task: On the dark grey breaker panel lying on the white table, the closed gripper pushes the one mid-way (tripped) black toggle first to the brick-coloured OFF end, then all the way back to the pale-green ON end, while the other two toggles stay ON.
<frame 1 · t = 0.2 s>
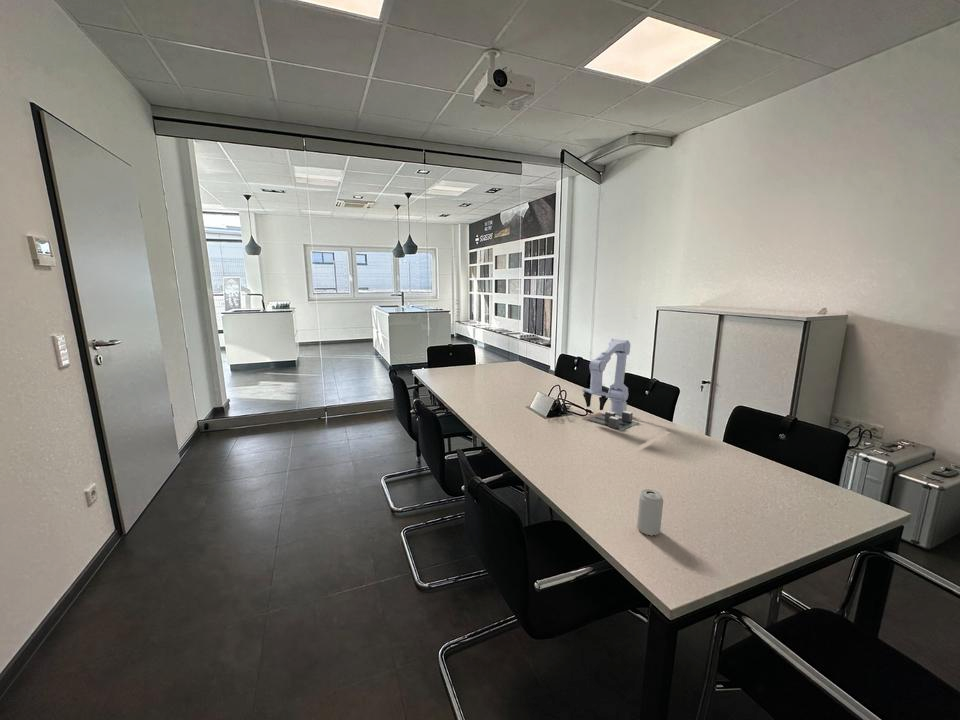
hand: (594, 408, 206), 10 cm above the table, fingers open, 7 cm apart
breaker 1: (627, 416, 211), point 4 cm above the table, slide at 6.0 cm
beverage can: (648, 531, 118), on the table
panel: (610, 423, 212), on the table
tripped breaker: (610, 416, 211), point 4 cm above the table, slide at 0.0 cm
breaker 3: (613, 422, 202), point 4 cm above the table, slide at 6.0 cm
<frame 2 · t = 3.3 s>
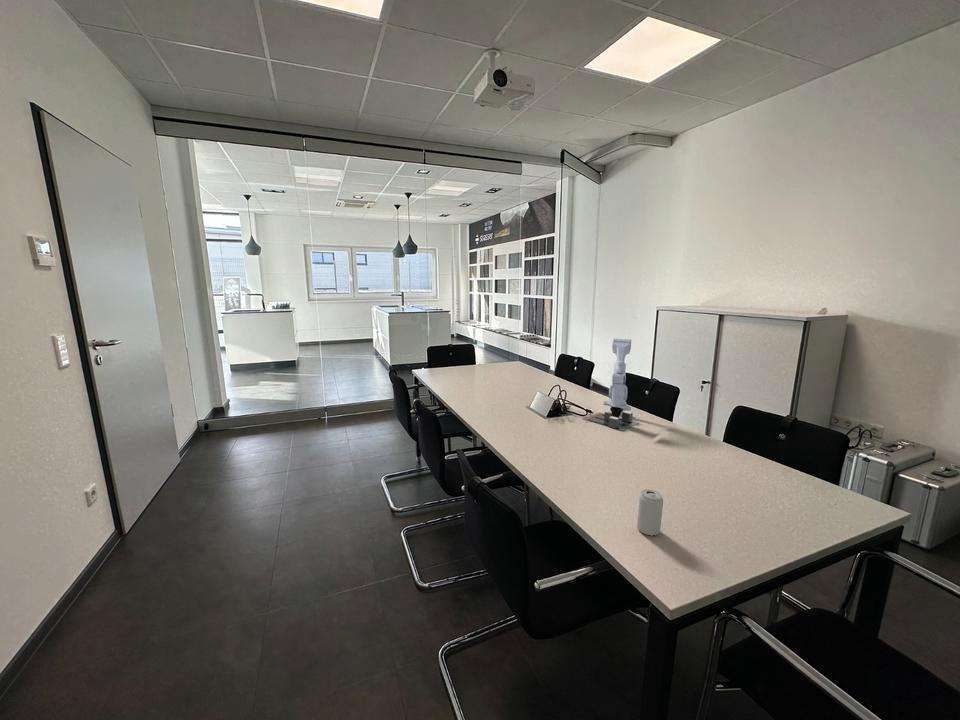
hand: (615, 420, 209), 3 cm above the table, fingers closed
tripped breaker: (609, 416, 211), point 4 cm above the table, slide at -0.5 cm, touching gripper
everything else where it was.
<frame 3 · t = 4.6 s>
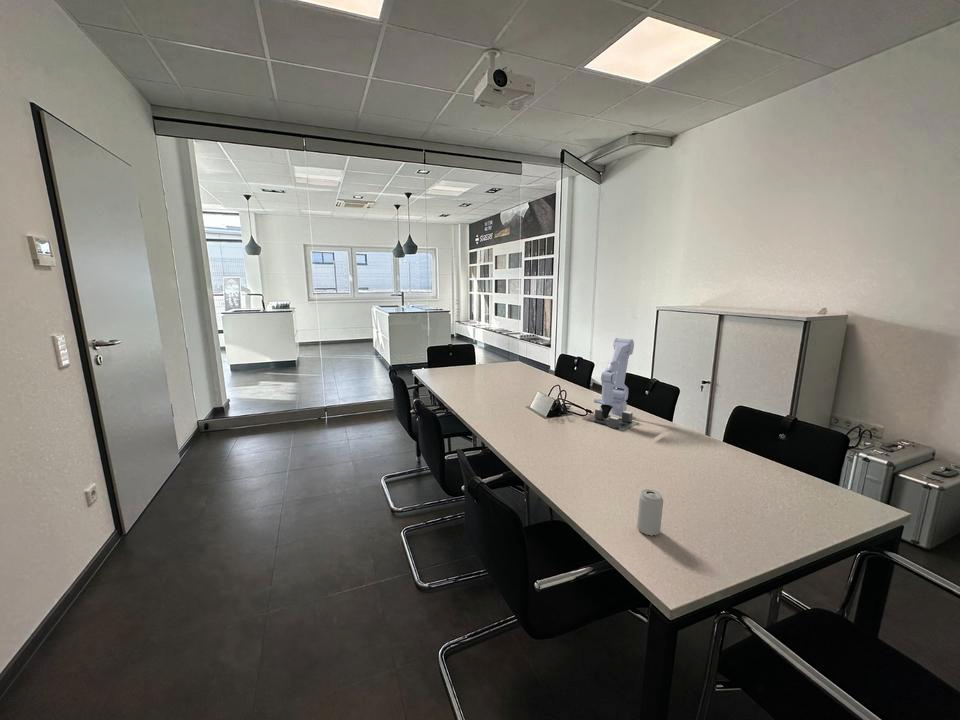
hand: (605, 418, 213), 3 cm above the table, fingers closed
tripped breaker: (599, 413, 215), point 4 cm above the table, slide at -6.1 cm, touching gripper
everything else where it was.
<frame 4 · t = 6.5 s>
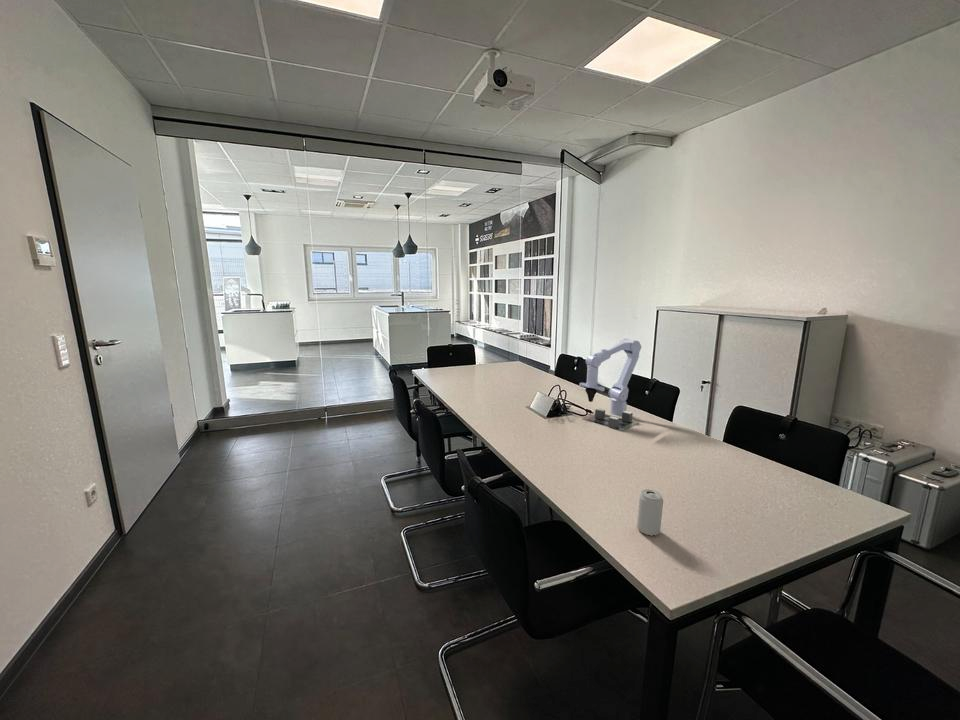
hand: (590, 401, 218), 10 cm above the table, fingers closed
tripped breaker: (600, 413, 215), point 4 cm above the table, slide at -6.1 cm
everything else where it was.
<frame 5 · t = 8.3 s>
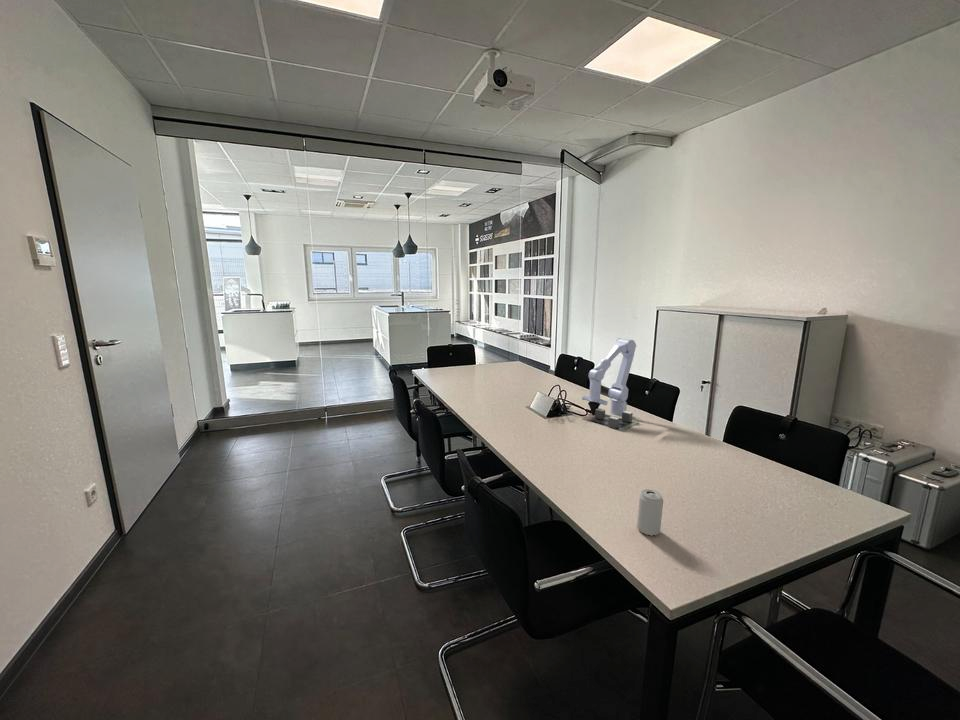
hand: (593, 414, 218), 3 cm above the table, fingers closed
tripped breaker: (600, 413, 215), point 4 cm above the table, slide at -6.0 cm, touching gripper
everything else where it was.
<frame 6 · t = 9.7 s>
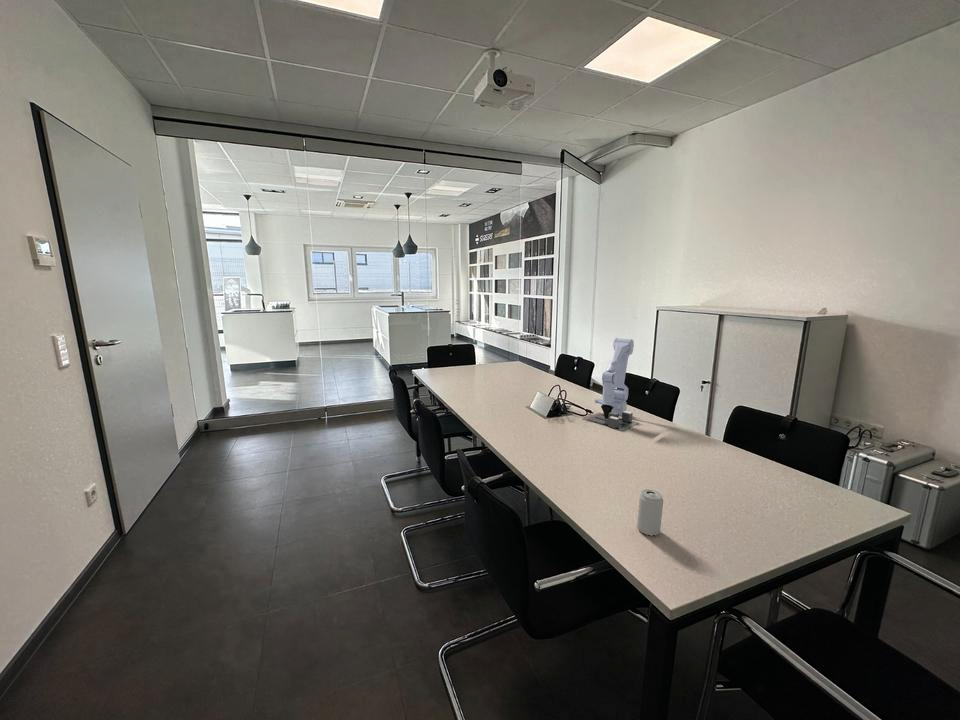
hand: (606, 418, 212), 3 cm above the table, fingers closed
tripped breaker: (613, 417, 209), point 4 cm above the table, slide at 1.9 cm, touching gripper
everything else where it was.
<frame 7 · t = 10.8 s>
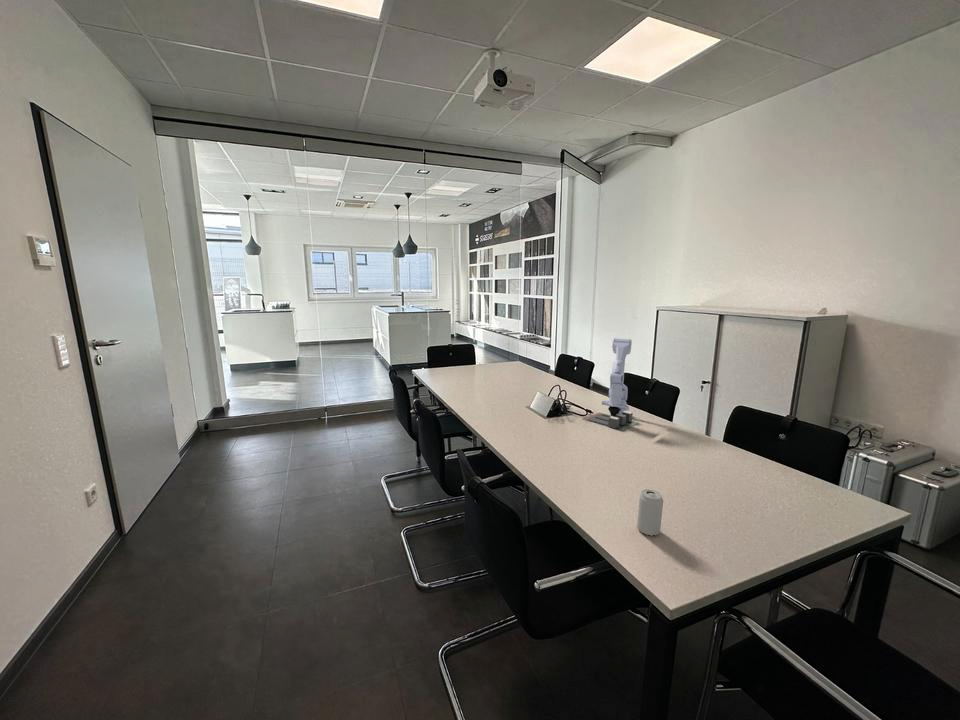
hand: (613, 420, 209), 3 cm above the table, fingers closed
tripped breaker: (620, 419, 206), point 4 cm above the table, slide at 6.0 cm, touching gripper
everything else where it was.
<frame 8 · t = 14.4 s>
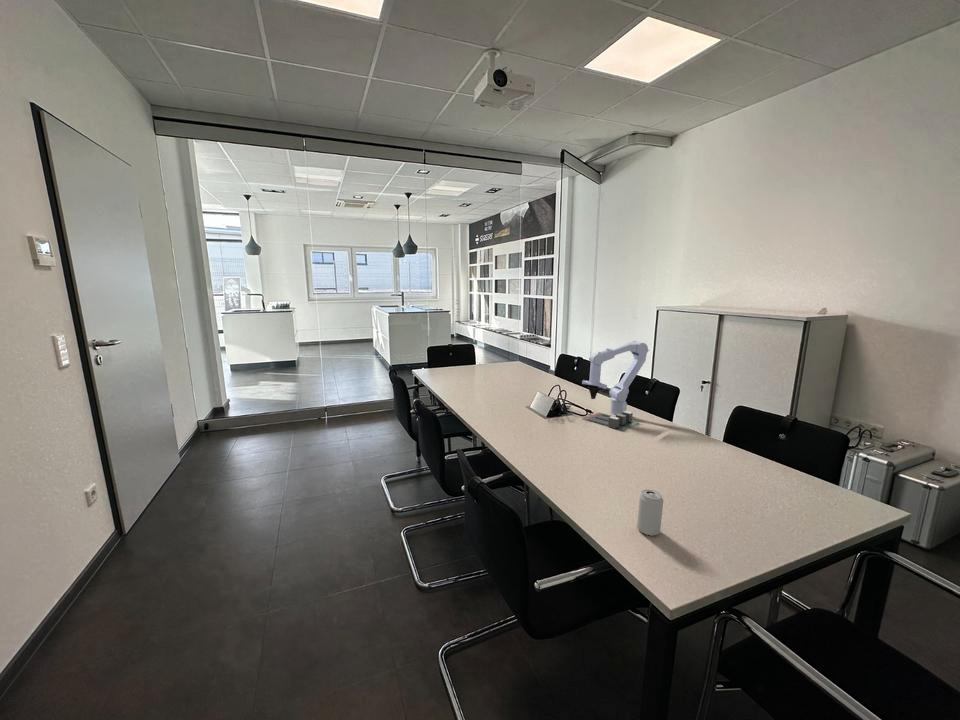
hand: (593, 398, 222), 10 cm above the table, fingers closed
tripped breaker: (620, 419, 206), point 4 cm above the table, slide at 6.1 cm
everything else where it was.
at the end: tripped breaker slide at 6.1 cm; breaker 1 slide at 6.0 cm; breaker 3 slide at 6.0 cm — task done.
